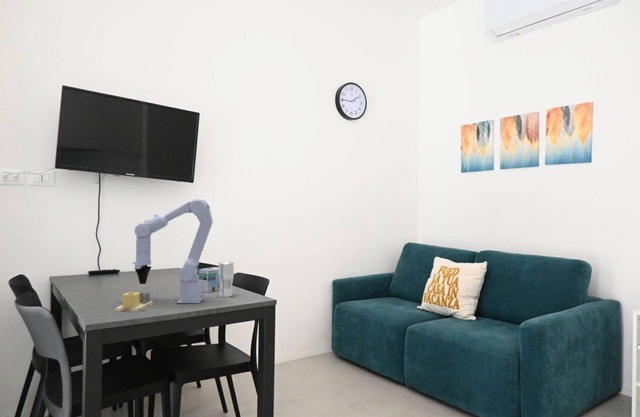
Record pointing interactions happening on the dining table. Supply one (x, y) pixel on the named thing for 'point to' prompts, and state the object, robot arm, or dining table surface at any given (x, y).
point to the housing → (144, 297)
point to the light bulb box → (209, 279)
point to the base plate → (137, 309)
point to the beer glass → (225, 278)
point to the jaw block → (131, 300)
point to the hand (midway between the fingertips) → (142, 283)
